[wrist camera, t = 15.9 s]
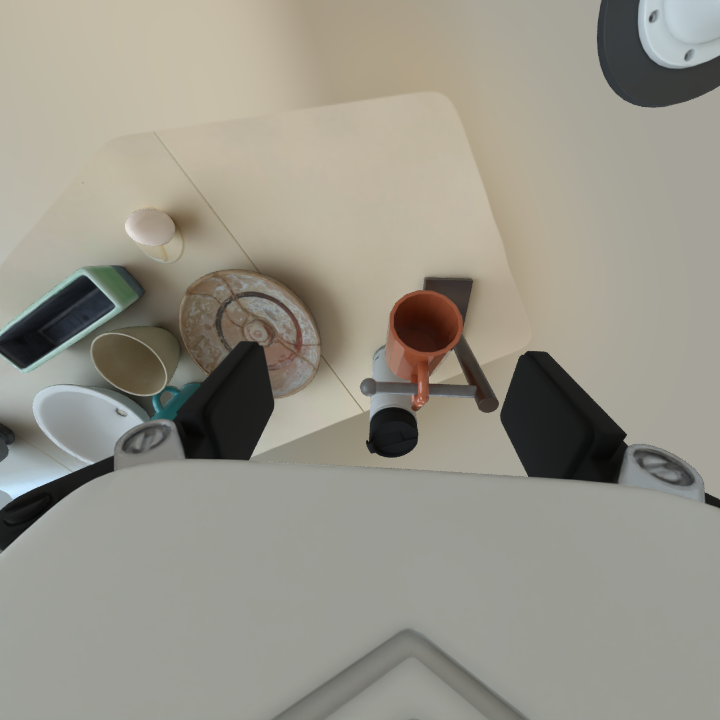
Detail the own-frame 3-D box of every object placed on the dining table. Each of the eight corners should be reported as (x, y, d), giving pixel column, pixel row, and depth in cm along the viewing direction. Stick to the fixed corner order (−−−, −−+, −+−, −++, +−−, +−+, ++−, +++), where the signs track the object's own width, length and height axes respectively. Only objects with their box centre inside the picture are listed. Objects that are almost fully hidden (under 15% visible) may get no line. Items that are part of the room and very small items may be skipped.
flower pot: (209, 356, 55) (182, 383, 48) (163, 376, 58) (131, 404, 51) (163, 301, 50) (125, 321, 42) (115, 326, 53) (72, 349, 46)
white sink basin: (114, 349, 56) (83, 367, 50) (199, 433, 66) (182, 456, 60) (40, 388, 62) (6, 408, 57) (128, 459, 73) (107, 482, 67)
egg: (146, 220, 43) (105, 227, 37) (163, 199, 41) (124, 202, 35) (172, 247, 45) (138, 258, 39) (190, 228, 43) (157, 235, 37)
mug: (385, 328, 37) (390, 289, 28) (439, 330, 37) (460, 291, 28) (382, 412, 34) (387, 396, 25) (442, 415, 33) (467, 400, 25)
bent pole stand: (369, 276, 45) (358, 353, 25) (471, 278, 44) (546, 360, 24) (368, 334, 50) (358, 437, 30) (459, 337, 49) (512, 445, 29)
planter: (62, 355, 57) (24, 375, 51) (27, 324, 54) (-19, 343, 48) (157, 293, 49) (124, 309, 43) (121, 254, 46) (81, 265, 40)
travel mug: (366, 350, 52) (358, 431, 35) (402, 340, 50) (412, 420, 33) (377, 377, 55) (375, 465, 38) (412, 368, 53) (425, 456, 36)
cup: (195, 364, 56) (156, 401, 47) (232, 409, 62) (204, 450, 52) (160, 378, 58) (117, 416, 49) (199, 420, 64) (167, 461, 54)
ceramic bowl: (285, 239, 43) (275, 245, 39) (346, 366, 54) (343, 381, 50) (165, 291, 49) (144, 301, 44) (242, 396, 60) (231, 413, 55)
